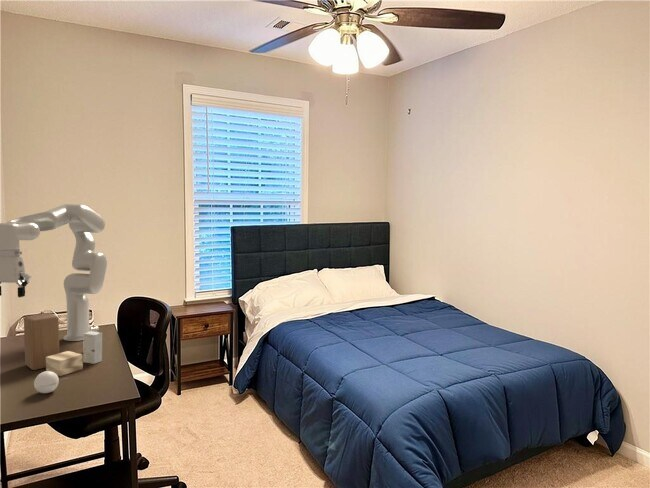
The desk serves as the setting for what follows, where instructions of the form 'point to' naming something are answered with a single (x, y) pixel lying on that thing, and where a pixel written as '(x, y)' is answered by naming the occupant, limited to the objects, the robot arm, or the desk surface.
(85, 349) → the skincare box
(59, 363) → the beech block
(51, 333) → the block
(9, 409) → the desk surface
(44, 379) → the white ellipsoid
